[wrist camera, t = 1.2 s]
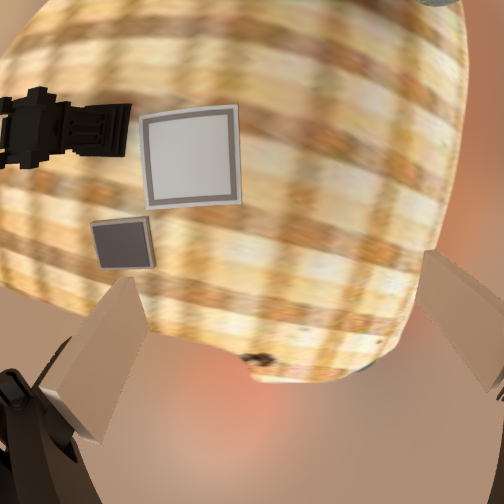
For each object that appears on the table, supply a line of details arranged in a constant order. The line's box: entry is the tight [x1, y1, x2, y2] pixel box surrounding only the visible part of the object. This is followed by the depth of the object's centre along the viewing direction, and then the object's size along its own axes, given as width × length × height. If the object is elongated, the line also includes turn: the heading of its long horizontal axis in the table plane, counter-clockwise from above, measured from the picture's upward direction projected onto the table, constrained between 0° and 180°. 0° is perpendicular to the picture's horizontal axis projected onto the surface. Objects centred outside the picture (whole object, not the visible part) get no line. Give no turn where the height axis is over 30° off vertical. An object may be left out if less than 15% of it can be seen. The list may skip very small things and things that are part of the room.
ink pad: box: [90, 216, 156, 270], centre depth 39 cm, size 8×10×2 cm
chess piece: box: [0, 86, 131, 169], centre depth 24 cm, size 8×8×20 cm
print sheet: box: [139, 104, 242, 210], centre depth 35 cm, size 14×14×1 cm
